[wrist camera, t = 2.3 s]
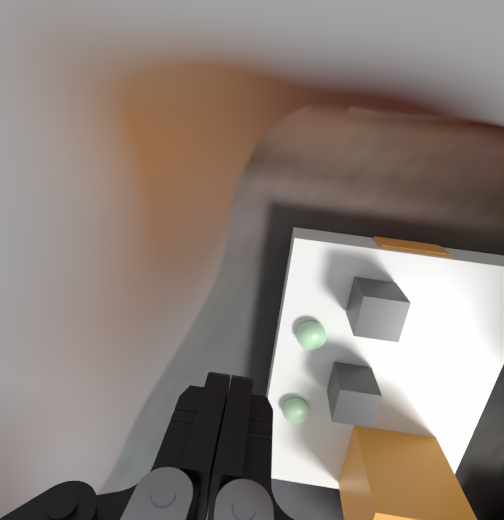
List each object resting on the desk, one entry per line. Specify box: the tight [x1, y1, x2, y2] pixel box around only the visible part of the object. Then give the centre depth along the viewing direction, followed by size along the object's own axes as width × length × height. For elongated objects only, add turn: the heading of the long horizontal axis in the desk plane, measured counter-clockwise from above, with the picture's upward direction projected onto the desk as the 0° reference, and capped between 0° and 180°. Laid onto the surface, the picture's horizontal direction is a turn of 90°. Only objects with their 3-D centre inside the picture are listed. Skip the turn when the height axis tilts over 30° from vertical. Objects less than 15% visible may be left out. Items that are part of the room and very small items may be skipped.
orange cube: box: [338, 425, 477, 520], centre depth 22 cm, size 6×6×6 cm
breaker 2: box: [327, 362, 382, 428], centre depth 22 cm, size 2×2×3 cm
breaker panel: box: [266, 227, 504, 489], centre depth 24 cm, size 14×19×3 cm
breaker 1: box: [346, 277, 411, 343], centre depth 20 cm, size 2×2×3 cm
